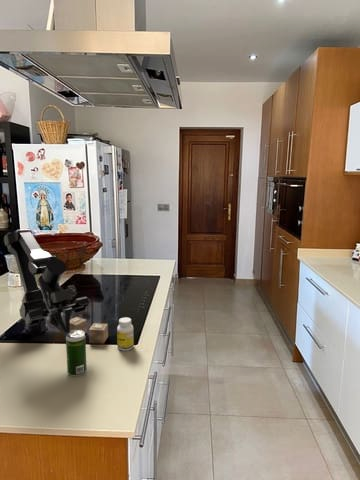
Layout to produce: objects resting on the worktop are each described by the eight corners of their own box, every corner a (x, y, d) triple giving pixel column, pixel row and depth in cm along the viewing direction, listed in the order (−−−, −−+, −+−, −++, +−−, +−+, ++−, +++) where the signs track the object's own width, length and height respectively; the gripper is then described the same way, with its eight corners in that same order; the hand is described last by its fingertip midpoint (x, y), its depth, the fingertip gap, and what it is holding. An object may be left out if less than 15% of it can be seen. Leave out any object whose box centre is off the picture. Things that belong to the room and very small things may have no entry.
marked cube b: (66, 334, 121) (65, 321, 120) (77, 329, 125) (76, 316, 124) (76, 338, 119) (75, 324, 118) (86, 332, 123) (86, 319, 122)
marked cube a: (89, 343, 116) (89, 328, 115) (94, 336, 121) (93, 322, 120) (103, 343, 115) (103, 329, 114) (108, 336, 120) (107, 323, 119)
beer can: (90, 371, 99) (88, 333, 96) (73, 379, 95) (71, 340, 93) (80, 364, 102) (78, 327, 100) (63, 371, 99) (61, 333, 96)
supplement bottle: (114, 346, 113) (113, 319, 111) (127, 341, 117) (127, 314, 115) (123, 352, 110) (123, 324, 108) (136, 347, 113) (136, 319, 111)
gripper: (25, 284, 95) (42, 335, 89) (86, 272, 107) (105, 316, 101) (18, 302, 102) (33, 350, 96) (76, 289, 115) (93, 331, 109)
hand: (68, 336), depth 101 cm, fingers closed
